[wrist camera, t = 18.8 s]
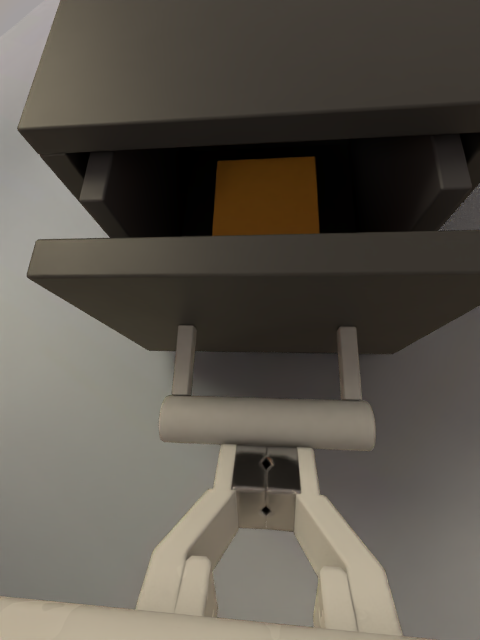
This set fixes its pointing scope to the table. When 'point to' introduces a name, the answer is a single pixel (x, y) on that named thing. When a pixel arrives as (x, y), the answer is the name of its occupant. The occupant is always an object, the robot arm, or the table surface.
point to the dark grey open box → (251, 76)
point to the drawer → (272, 274)
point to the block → (266, 197)
